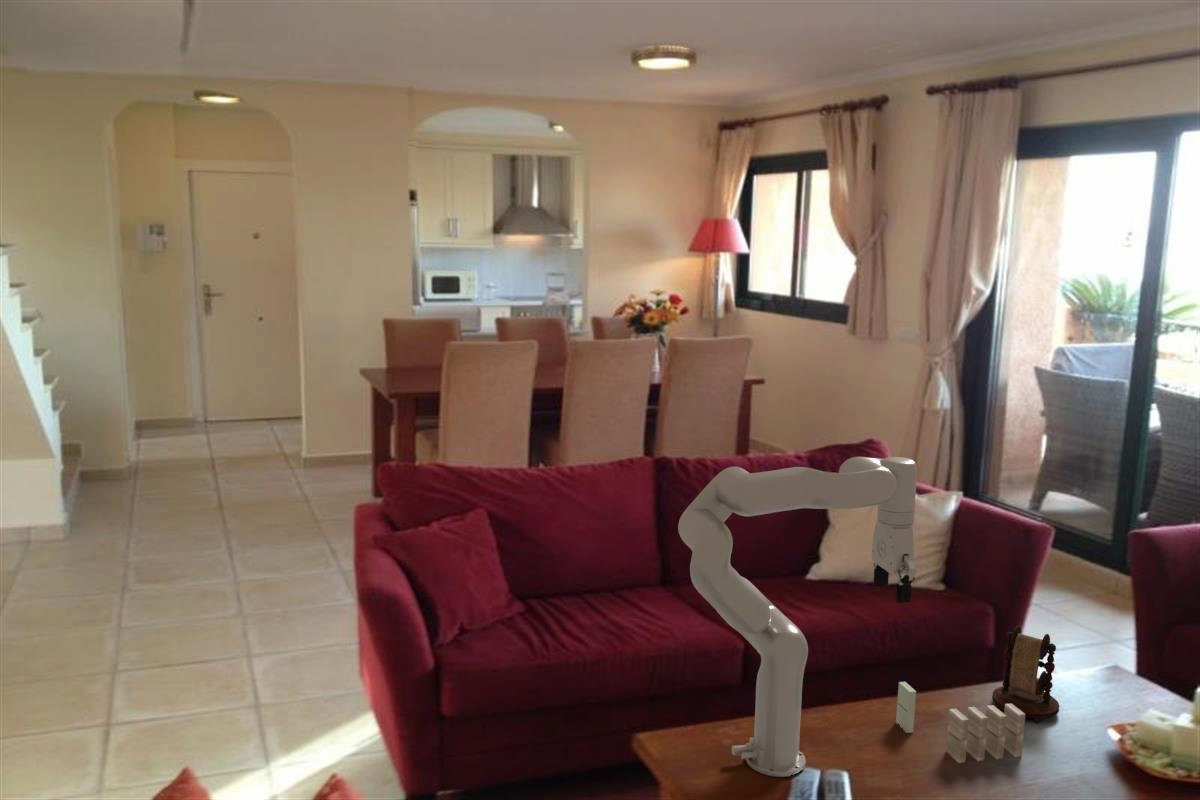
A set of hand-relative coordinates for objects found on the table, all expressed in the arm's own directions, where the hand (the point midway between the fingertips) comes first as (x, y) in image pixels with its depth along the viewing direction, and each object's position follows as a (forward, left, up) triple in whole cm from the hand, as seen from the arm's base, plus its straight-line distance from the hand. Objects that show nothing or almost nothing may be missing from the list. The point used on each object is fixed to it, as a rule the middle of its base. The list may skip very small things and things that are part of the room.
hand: (891, 593), depth 211 cm
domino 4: (+24, -5, -36) cm, 44 cm away
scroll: (+43, +12, -36) cm, 58 cm away
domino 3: (+19, -5, -36) cm, 41 cm away
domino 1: (+10, +9, -36) cm, 39 cm away
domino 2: (+15, -5, -36) cm, 40 cm away
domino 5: (+28, -5, -36) cm, 46 cm away
